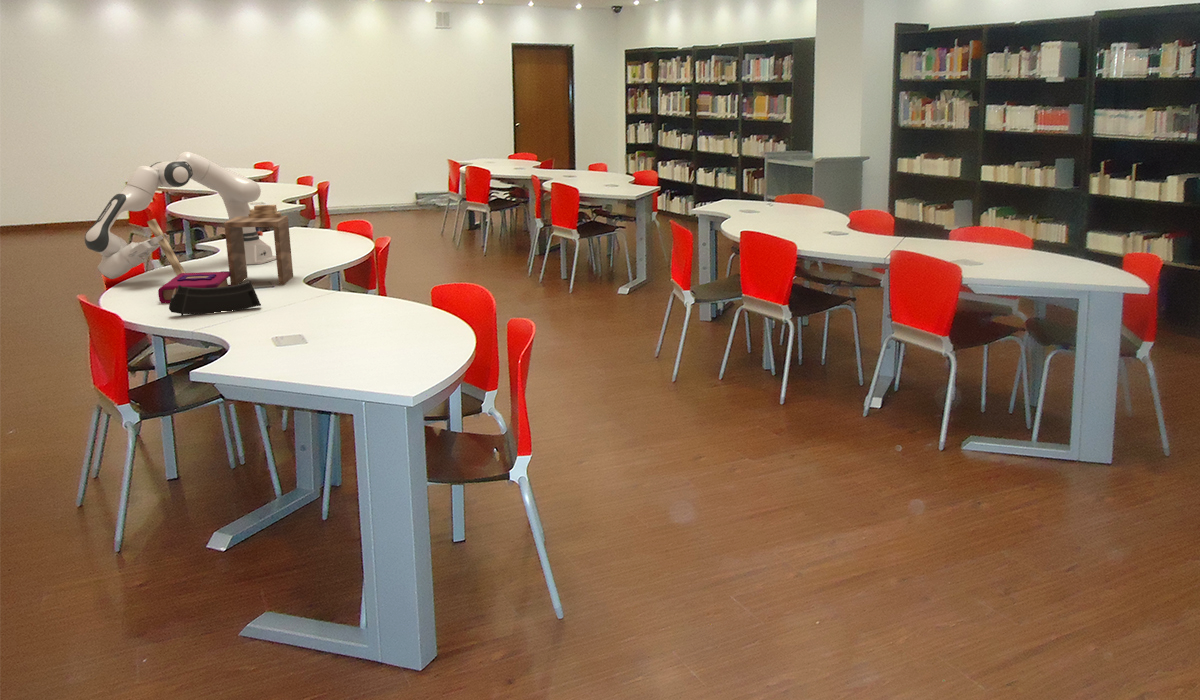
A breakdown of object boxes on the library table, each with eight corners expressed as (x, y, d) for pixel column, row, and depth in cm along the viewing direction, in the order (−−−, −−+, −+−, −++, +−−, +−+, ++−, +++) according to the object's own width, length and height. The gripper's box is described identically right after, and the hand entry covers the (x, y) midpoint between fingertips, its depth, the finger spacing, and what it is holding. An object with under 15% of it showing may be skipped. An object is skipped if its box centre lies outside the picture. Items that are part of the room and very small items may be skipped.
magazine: (264, 282, 353) (177, 266, 339) (266, 284, 351) (177, 267, 336) (255, 327, 356) (167, 313, 341) (256, 329, 353) (168, 314, 338)
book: (159, 305, 361) (157, 285, 359) (179, 290, 388) (176, 271, 386) (218, 302, 365) (216, 283, 363) (233, 288, 391) (231, 269, 389)
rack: (230, 286, 393) (222, 210, 385) (242, 277, 411) (235, 205, 403) (283, 285, 395) (276, 209, 387) (293, 276, 413) (286, 204, 405)
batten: (146, 221, 390) (152, 219, 390) (149, 221, 393) (154, 218, 393) (181, 284, 398) (187, 281, 398) (184, 282, 401) (189, 280, 401)
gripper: (121, 250, 384) (150, 232, 383) (139, 243, 403) (167, 225, 403) (131, 264, 385) (160, 246, 385) (149, 255, 405) (176, 238, 404)
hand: (164, 235), depth 394 cm, fingers closed on batten, 3 cm apart
